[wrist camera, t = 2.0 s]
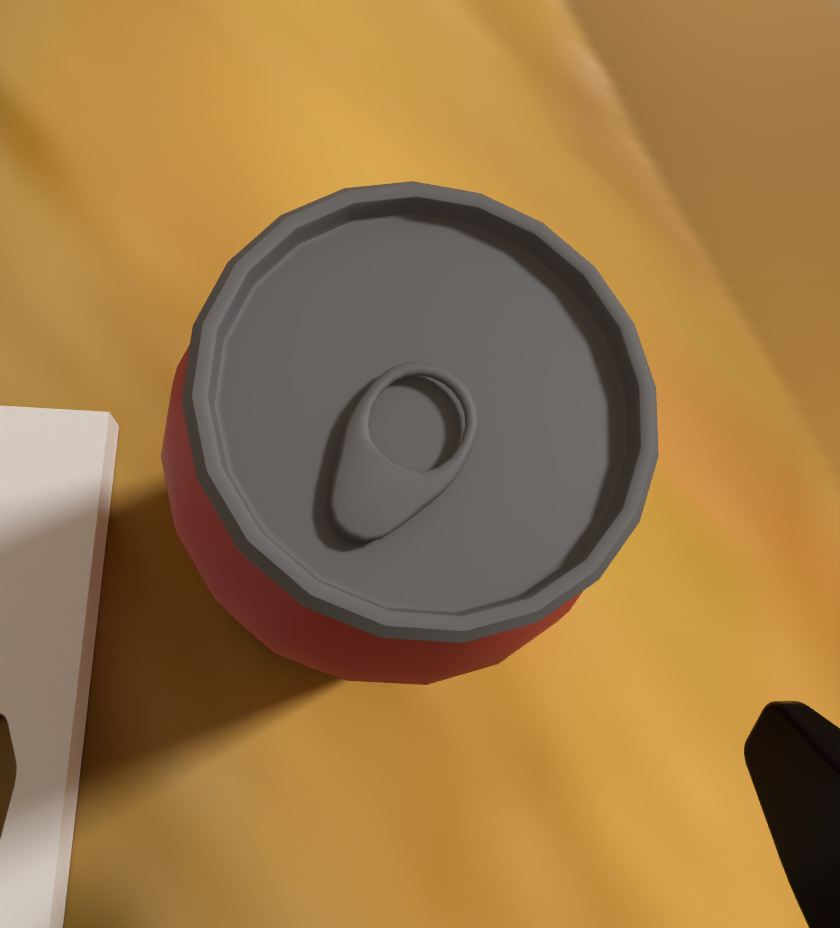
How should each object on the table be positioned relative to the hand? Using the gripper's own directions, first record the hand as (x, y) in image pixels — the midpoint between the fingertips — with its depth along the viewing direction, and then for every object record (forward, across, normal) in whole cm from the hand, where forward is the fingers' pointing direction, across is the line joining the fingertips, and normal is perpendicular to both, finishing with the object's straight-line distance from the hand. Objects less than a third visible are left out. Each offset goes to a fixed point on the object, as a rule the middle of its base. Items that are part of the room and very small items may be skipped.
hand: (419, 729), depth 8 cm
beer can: (+10, 0, +5) cm, 11 cm away
